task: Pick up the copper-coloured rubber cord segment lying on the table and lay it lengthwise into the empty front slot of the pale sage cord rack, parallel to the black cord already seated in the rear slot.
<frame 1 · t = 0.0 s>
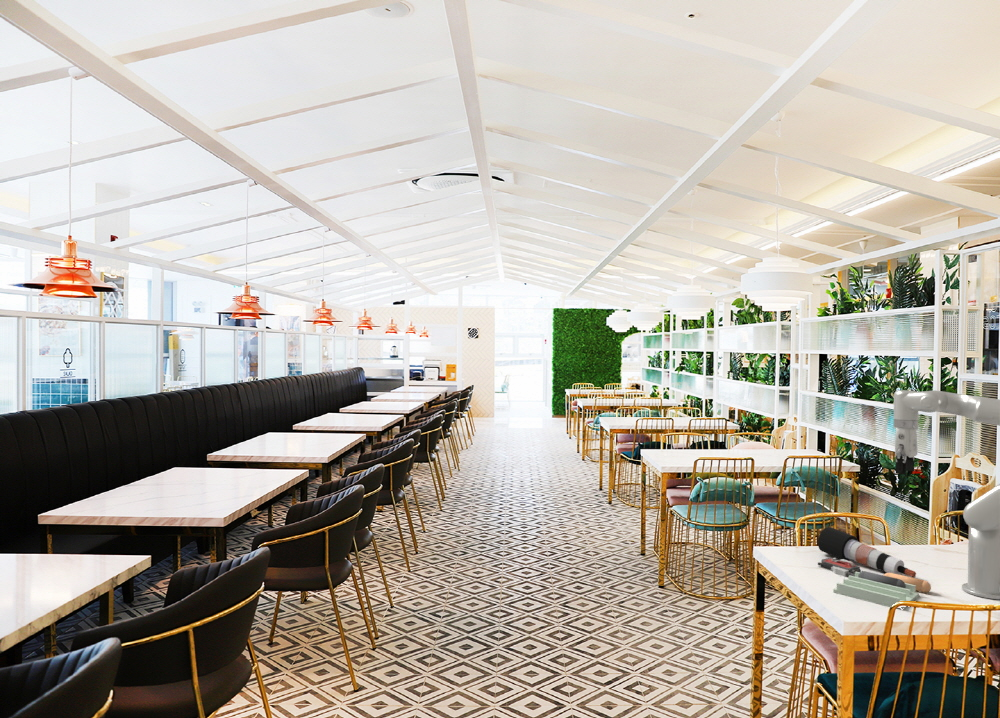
hand: (904, 472, 231), 37 cm above the table, tool pointing down, fingers open, 9 cm apart
rack: (876, 594, 211), on the table
black cord: (881, 581, 215), point 3 cm above the table, touching rack
copper cord: (906, 582, 218), point 2 cm above the table
walkie-talkie: (846, 574, 232), on the table
cable: (866, 567, 240), on the table
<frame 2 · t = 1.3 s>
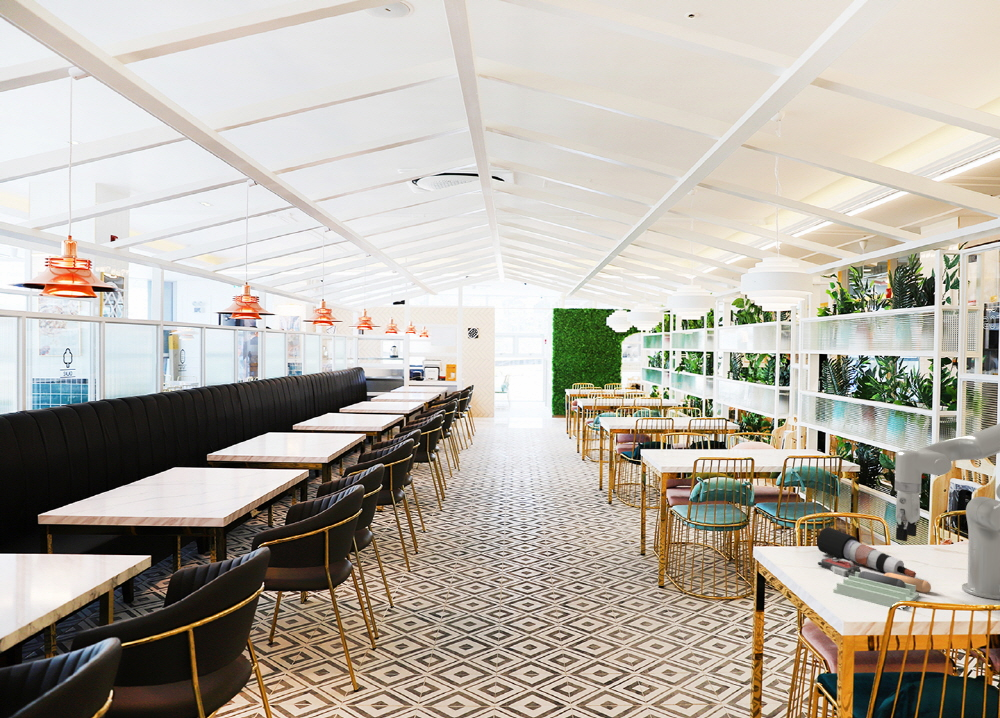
hand: (906, 537, 218), 17 cm above the table, tool pointing down, fingers open, 9 cm apart
nothing on the table moved.
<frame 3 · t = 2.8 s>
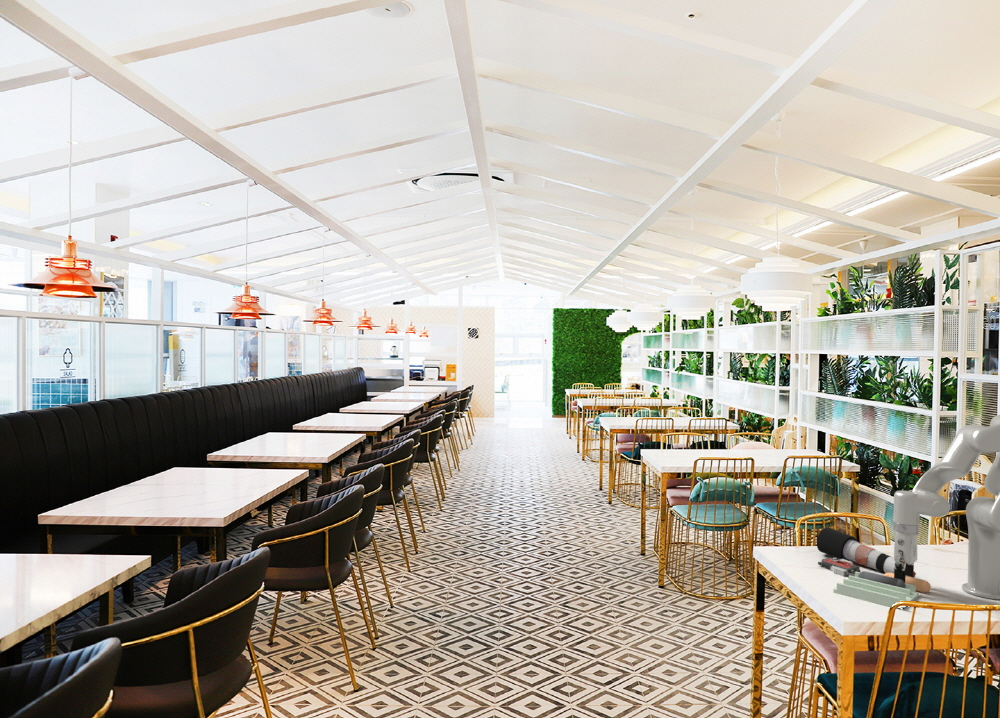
hand: (903, 578, 218), 3 cm above the table, tool pointing down, fingers open, 9 cm apart
nothing on the table moved.
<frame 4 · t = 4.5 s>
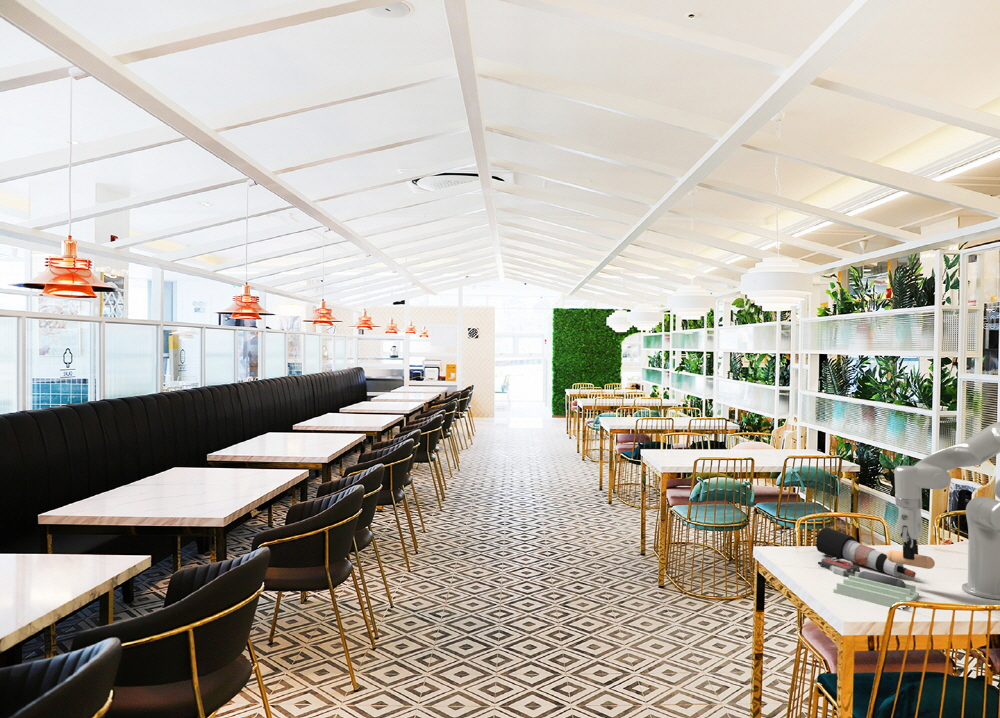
hand: (910, 556, 217), 11 cm above the table, tool pointing down, fingers closed on copper cord, 3 cm apart
copper cord: (910, 559, 218), point 10 cm above the table, touching gripper
everything else where it was.
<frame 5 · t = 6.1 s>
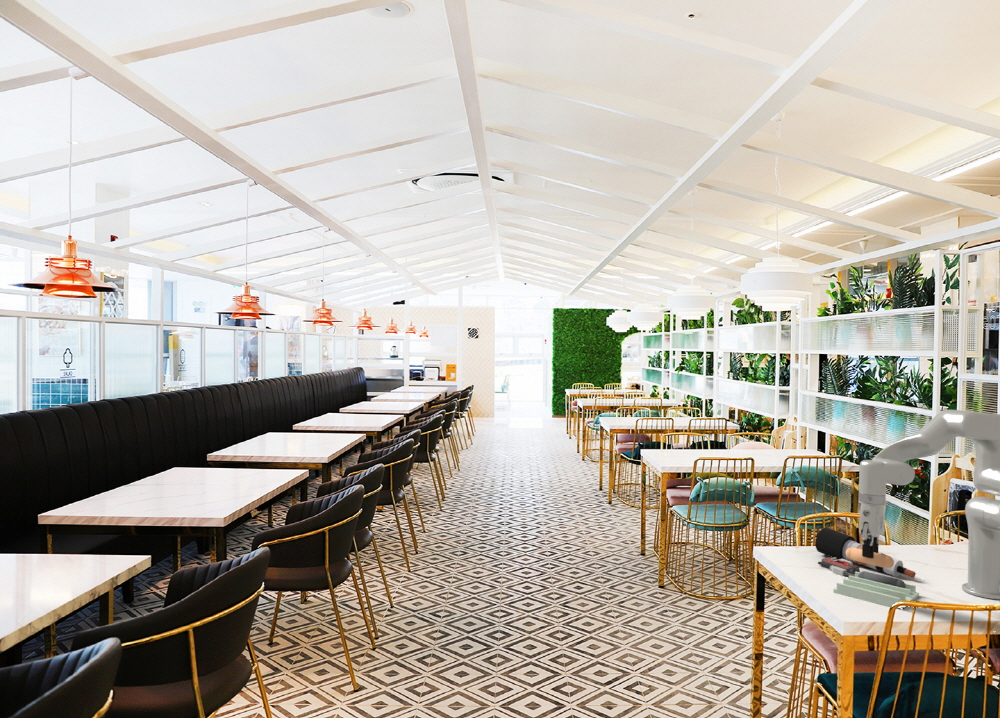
hand: (870, 555, 208), 14 cm above the table, tool pointing down, fingers closed on copper cord, 3 cm apart
copper cord: (869, 557, 208), point 13 cm above the table, touching gripper
everything else where it was.
when the fingers open (4 cm above the table, at t = 7.6 s): copper cord stays where it is, resting on rack.
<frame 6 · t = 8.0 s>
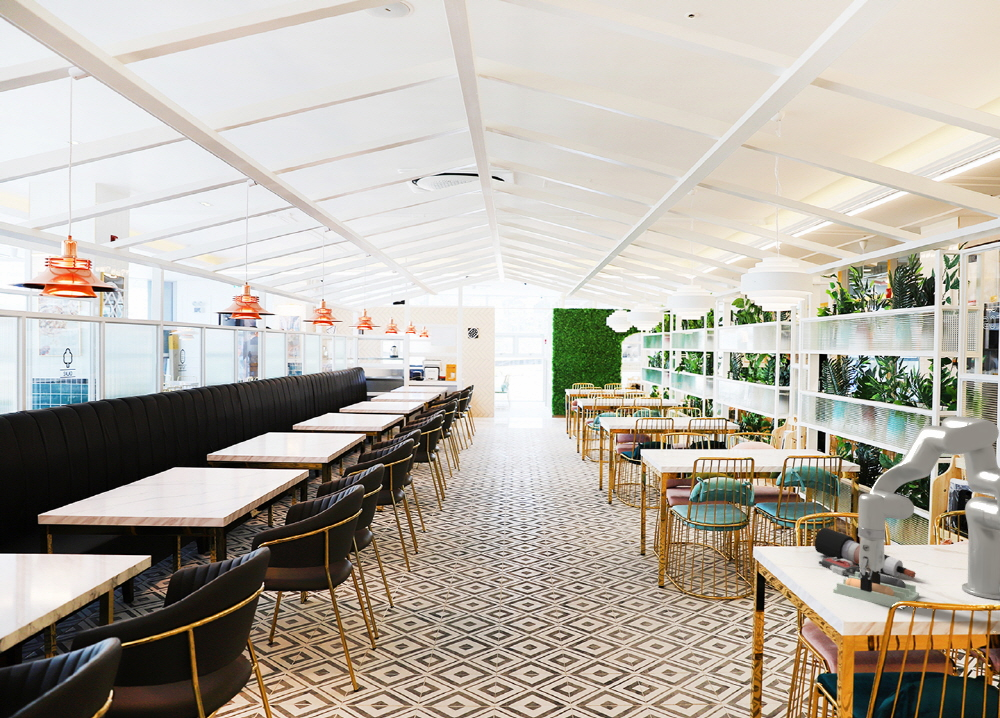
hand: (870, 587, 208), 3 cm above the table, tool pointing down, fingers open, 7 cm apart
copper cord: (869, 588, 208), point 3 cm above the table, touching rack
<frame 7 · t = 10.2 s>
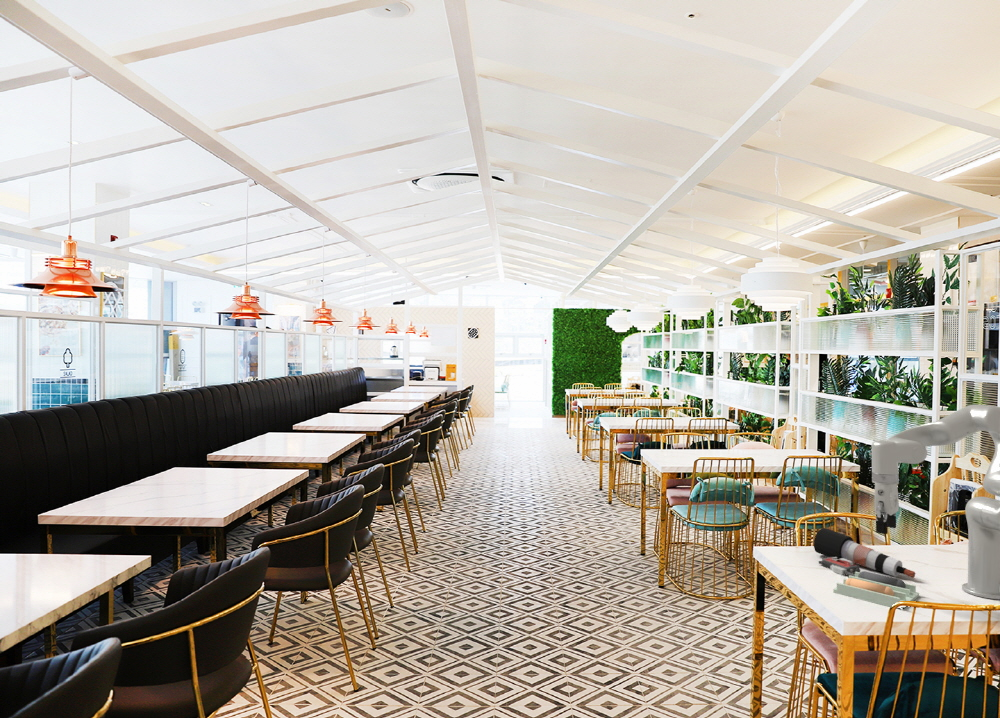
hand: (886, 530, 212), 21 cm above the table, tool pointing down, fingers open, 9 cm apart
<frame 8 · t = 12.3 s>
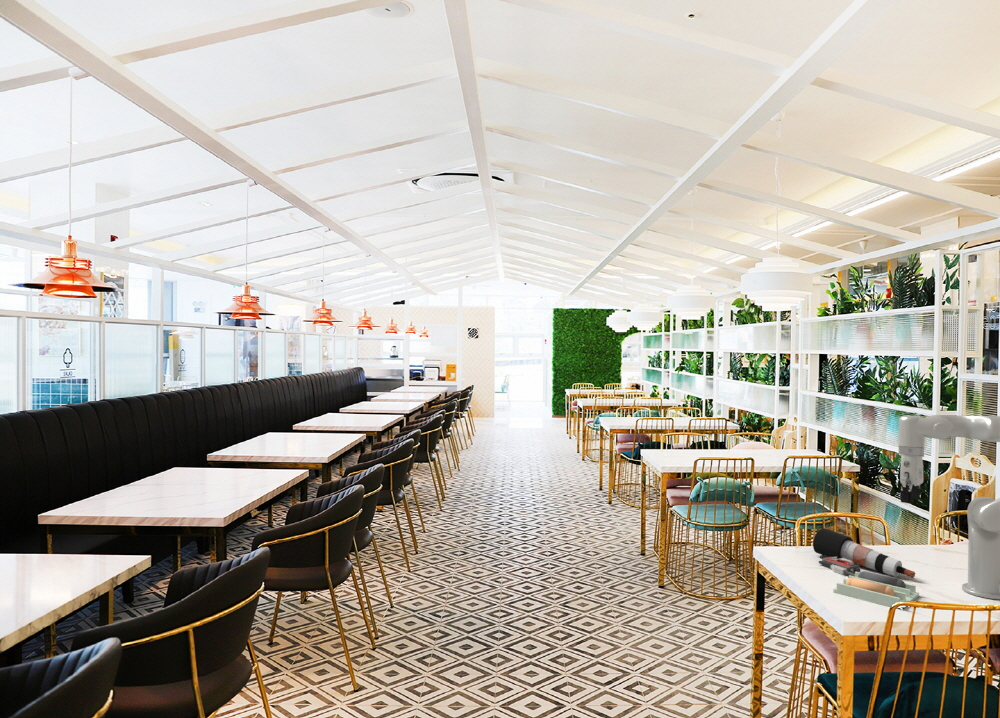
hand: (910, 500, 223), 28 cm above the table, tool pointing down, fingers open, 9 cm apart
copper cord: (869, 588, 208), point 3 cm above the table, tilted 19°, touching rack
at the end: copper cord inside the target area on the rack (0.7 cm from its centre), point 3.0 cm above the rack's base; black cord inside the target area on the rack (0.0 cm from its centre), point 3.0 cm above the rack's base; the gripper is holding nothing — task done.
